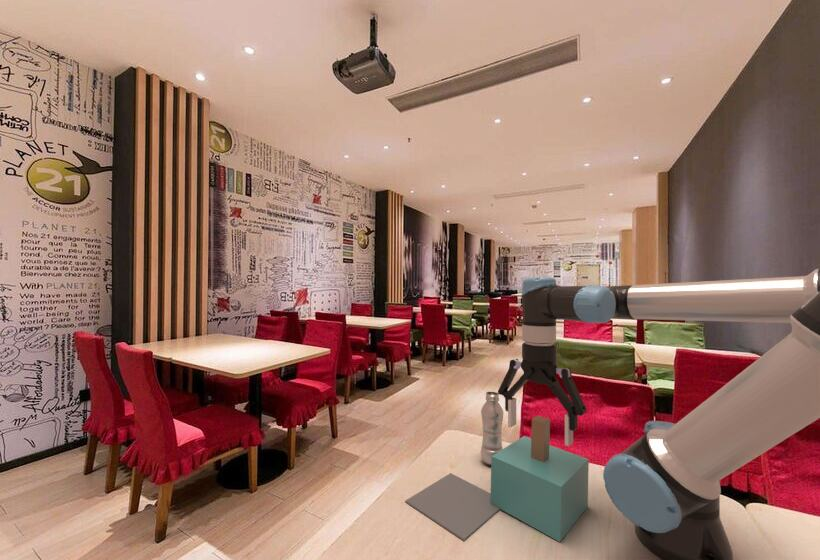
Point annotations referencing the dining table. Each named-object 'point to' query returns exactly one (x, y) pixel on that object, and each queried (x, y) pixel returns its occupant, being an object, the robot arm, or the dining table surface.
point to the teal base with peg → (540, 482)
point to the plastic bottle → (491, 427)
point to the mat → (455, 505)
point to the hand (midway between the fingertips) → (538, 434)
